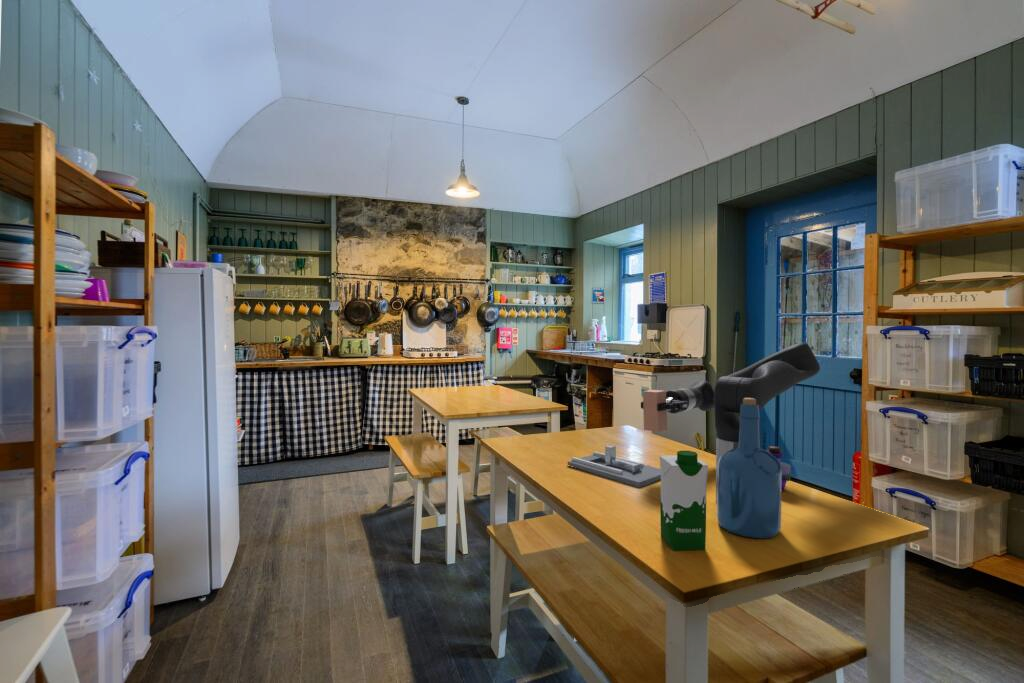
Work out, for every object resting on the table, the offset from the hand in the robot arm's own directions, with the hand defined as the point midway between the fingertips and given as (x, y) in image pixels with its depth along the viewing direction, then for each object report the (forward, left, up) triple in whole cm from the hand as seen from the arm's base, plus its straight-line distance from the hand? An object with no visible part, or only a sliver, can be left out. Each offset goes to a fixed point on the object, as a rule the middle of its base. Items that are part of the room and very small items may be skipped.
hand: (649, 406), depth 147 cm
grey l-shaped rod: (+1, +8, -20) cm, 22 cm away
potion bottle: (+5, -34, -22) cm, 41 cm away
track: (+2, +11, -22) cm, 24 cm away
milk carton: (-42, -14, -22) cm, 50 cm away
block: (+2, -1, -7) cm, 8 cm away
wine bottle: (-28, -27, -22) cm, 45 cm away
